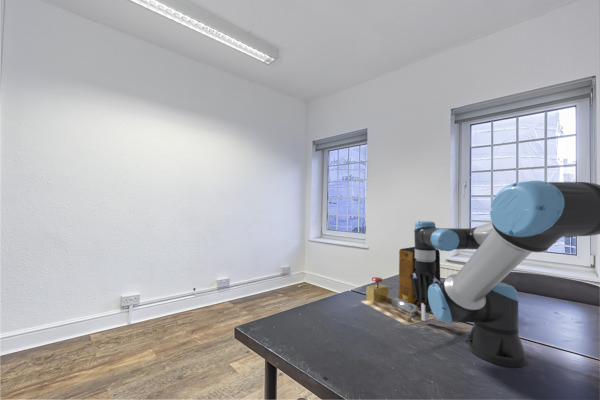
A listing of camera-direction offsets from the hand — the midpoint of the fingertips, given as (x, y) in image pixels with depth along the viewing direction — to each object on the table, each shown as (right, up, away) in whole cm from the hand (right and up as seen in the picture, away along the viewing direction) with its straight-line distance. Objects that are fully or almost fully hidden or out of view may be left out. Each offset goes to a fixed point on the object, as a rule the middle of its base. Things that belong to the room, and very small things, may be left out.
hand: (425, 319), depth 101 cm
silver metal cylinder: (-5, -2, +10) cm, 11 cm away
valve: (-12, -2, +26) cm, 28 cm away
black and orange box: (+9, -4, +24) cm, 26 cm away
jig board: (-7, -3, +14) cm, 16 cm away
